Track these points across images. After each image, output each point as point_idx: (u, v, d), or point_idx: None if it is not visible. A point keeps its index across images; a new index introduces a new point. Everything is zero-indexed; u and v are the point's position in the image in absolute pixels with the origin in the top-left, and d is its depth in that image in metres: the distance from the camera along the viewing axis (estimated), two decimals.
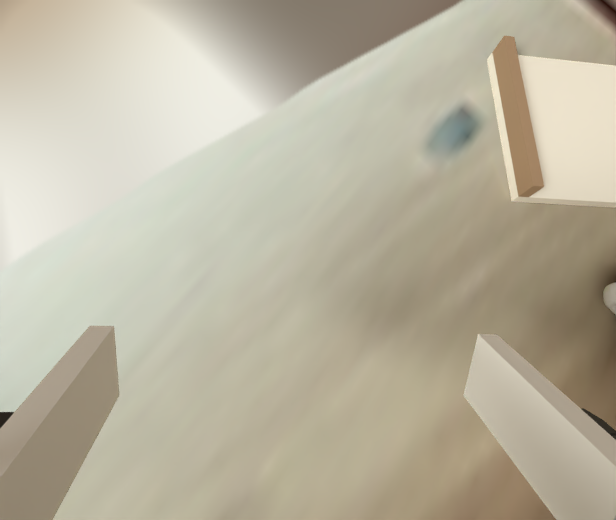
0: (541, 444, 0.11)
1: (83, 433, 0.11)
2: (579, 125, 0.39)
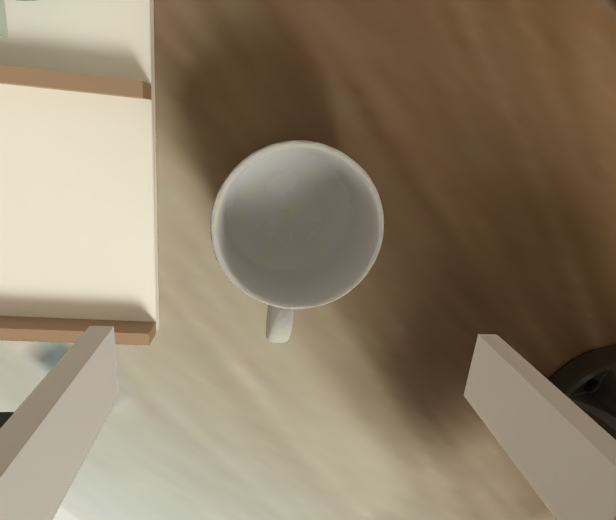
0: (541, 444, 0.11)
1: (83, 433, 0.11)
2: (41, 234, 0.30)
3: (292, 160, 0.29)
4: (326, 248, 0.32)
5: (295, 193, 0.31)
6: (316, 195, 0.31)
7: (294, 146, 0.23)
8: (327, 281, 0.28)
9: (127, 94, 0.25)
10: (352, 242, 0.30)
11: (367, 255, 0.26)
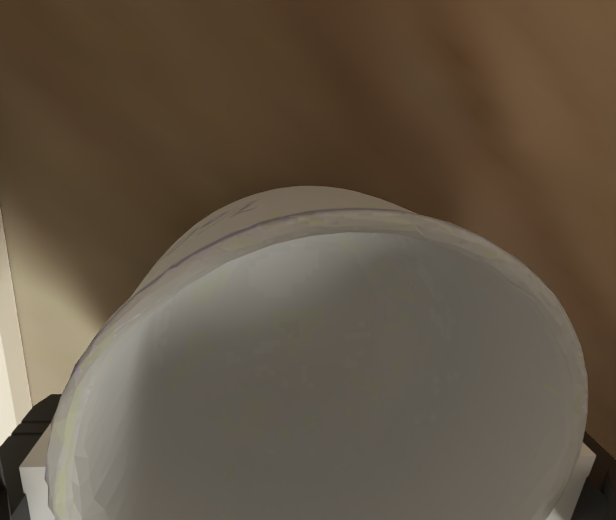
0: None
1: None
2: None
3: None
4: (380, 396, 0.15)
5: (312, 287, 0.14)
6: (358, 289, 0.14)
7: (328, 231, 0.06)
8: (398, 515, 0.12)
9: None
10: (447, 404, 0.13)
11: (519, 491, 0.10)
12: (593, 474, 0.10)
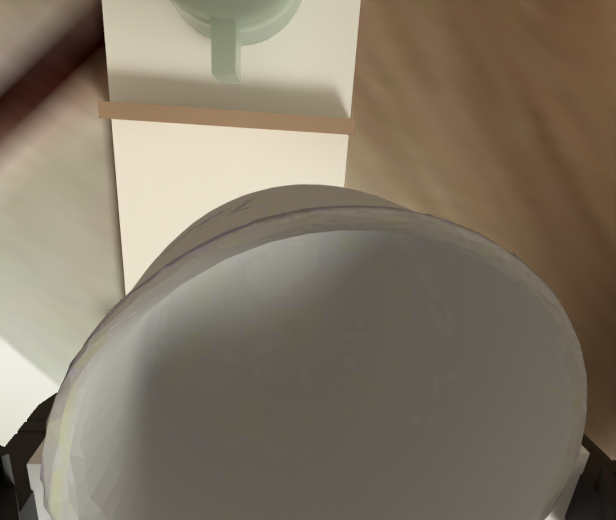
0: None
1: None
2: None
3: None
4: (379, 396, 0.15)
5: (310, 286, 0.14)
6: (357, 288, 0.14)
7: (324, 229, 0.06)
8: (397, 515, 0.12)
9: (340, 132, 0.26)
10: (447, 403, 0.13)
11: (518, 490, 0.10)
12: (587, 472, 0.10)
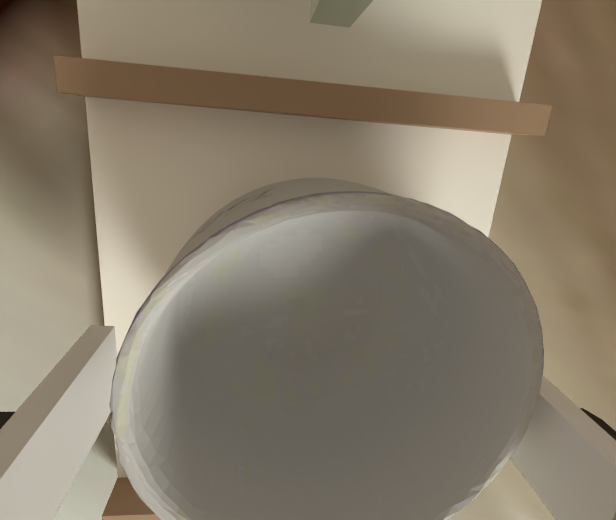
0: (540, 444, 0.11)
1: (83, 433, 0.11)
2: None
3: None
4: (376, 366, 0.17)
5: (316, 268, 0.16)
6: (356, 270, 0.16)
7: (331, 209, 0.08)
8: (391, 462, 0.14)
9: (520, 130, 0.14)
10: (434, 369, 0.15)
11: (491, 433, 0.12)
12: None
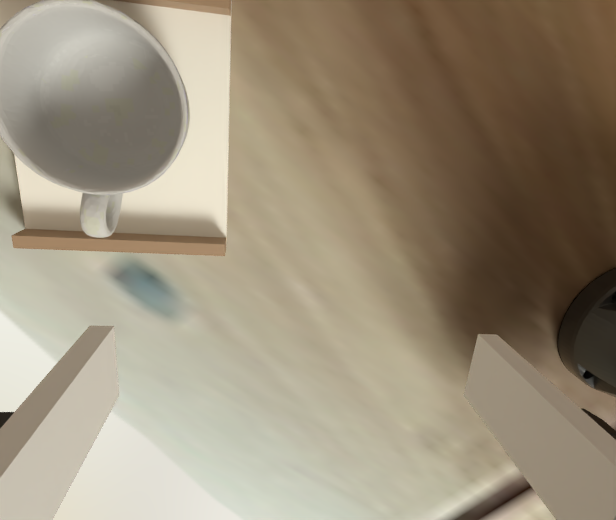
0: (541, 444, 0.11)
1: (83, 433, 0.11)
2: None
3: (112, 48, 0.28)
4: (164, 148, 0.30)
5: (123, 87, 0.29)
6: (147, 90, 0.29)
7: (66, 4, 0.22)
8: (149, 173, 0.27)
9: (215, 5, 0.27)
10: None
11: (177, 137, 0.25)
12: None
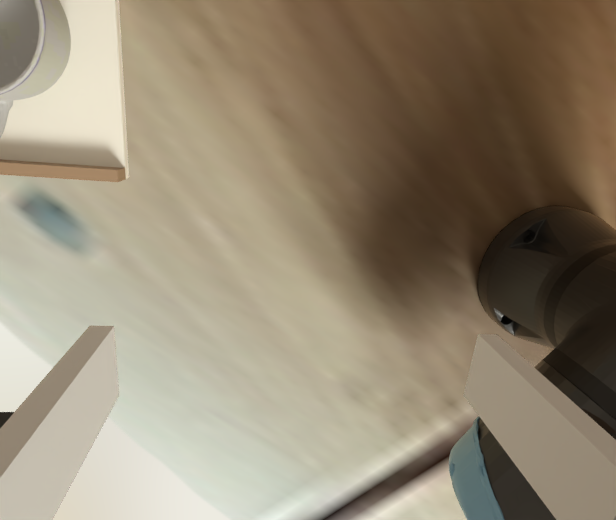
0: (541, 444, 0.11)
1: (83, 433, 0.11)
2: None
3: None
4: None
5: (9, 10, 0.30)
6: (32, 14, 0.31)
7: None
8: None
9: None
10: None
11: None
12: None
